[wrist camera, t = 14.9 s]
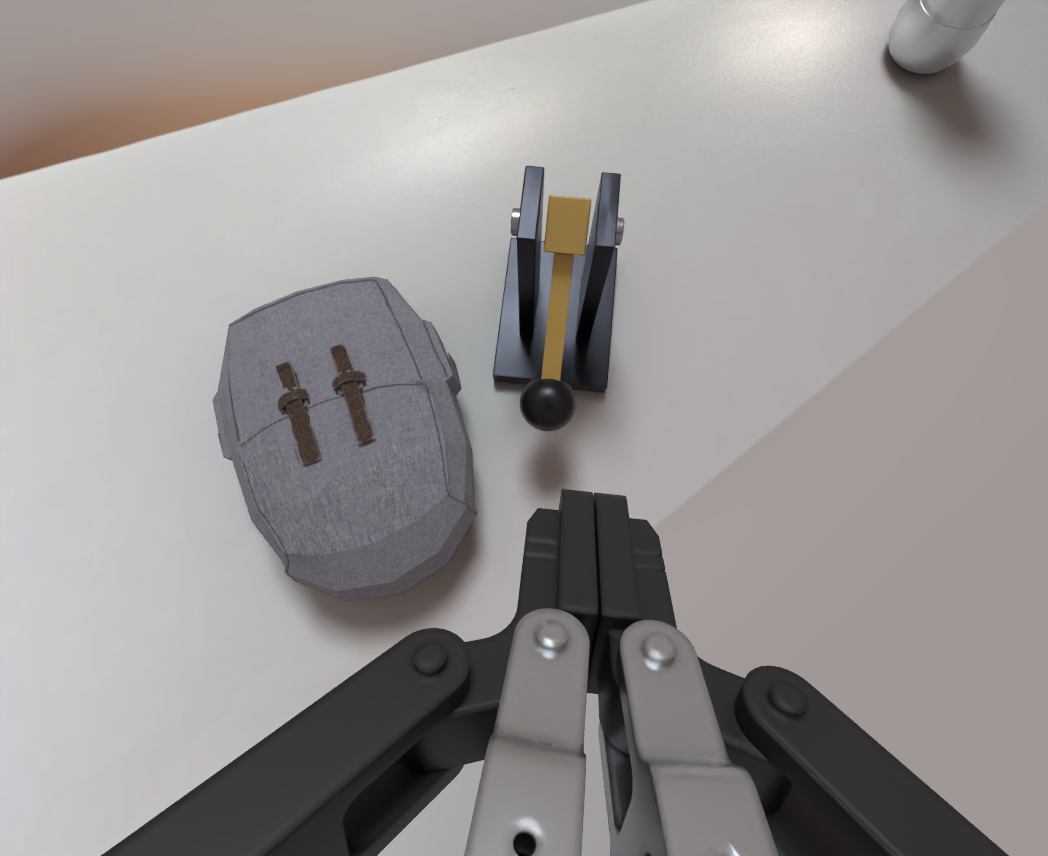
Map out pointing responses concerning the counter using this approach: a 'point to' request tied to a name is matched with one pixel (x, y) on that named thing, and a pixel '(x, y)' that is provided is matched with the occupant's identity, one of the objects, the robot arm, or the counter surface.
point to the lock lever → (557, 315)
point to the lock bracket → (532, 287)
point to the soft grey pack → (347, 437)
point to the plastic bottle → (938, 32)
